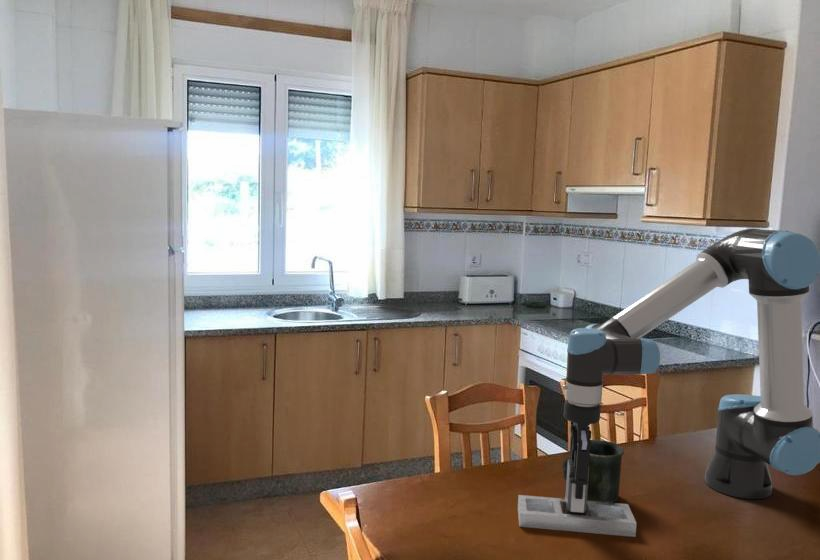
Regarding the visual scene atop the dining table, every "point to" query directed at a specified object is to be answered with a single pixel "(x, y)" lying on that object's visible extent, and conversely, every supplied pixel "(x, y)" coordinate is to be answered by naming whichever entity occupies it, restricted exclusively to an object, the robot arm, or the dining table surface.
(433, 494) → the dining table surface
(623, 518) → the white peg holder tray
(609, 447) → the mug
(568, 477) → the steel peg
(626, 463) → the dining table surface
